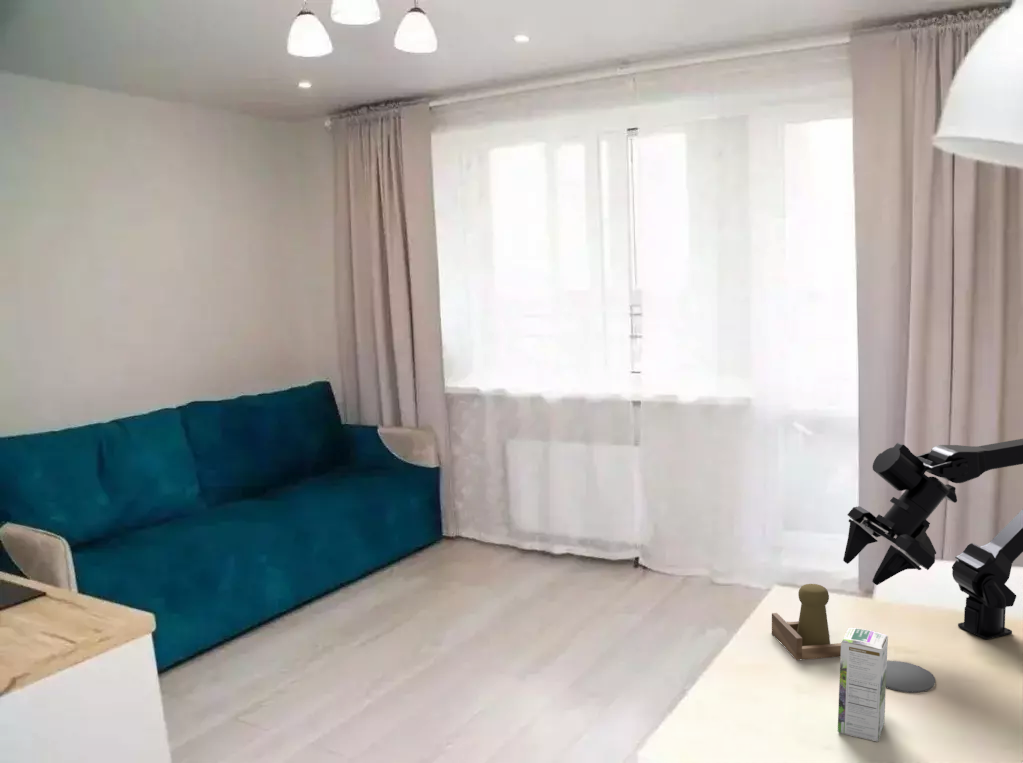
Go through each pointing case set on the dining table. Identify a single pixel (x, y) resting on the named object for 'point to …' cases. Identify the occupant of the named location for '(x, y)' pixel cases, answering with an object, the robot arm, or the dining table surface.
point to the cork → (813, 615)
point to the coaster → (908, 677)
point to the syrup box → (862, 683)
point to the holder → (800, 641)
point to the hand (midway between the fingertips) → (859, 572)
